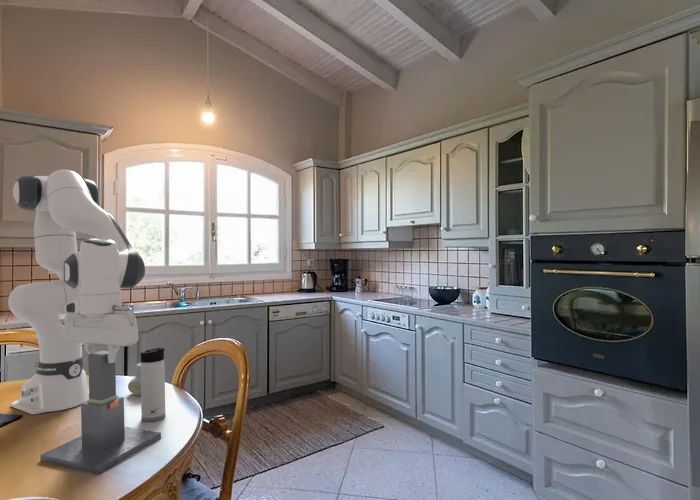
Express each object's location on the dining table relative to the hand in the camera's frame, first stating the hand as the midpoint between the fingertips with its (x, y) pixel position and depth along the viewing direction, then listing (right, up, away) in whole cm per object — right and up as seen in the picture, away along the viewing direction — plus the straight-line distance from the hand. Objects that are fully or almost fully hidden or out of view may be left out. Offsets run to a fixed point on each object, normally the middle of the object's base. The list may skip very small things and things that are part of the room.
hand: (102, 361), depth 104 cm
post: (0, -14, 0) cm, 14 cm away
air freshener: (-9, -21, +40) cm, 47 cm away
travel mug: (+4, -21, +19) cm, 29 cm away
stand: (0, -21, 0) cm, 21 cm away
